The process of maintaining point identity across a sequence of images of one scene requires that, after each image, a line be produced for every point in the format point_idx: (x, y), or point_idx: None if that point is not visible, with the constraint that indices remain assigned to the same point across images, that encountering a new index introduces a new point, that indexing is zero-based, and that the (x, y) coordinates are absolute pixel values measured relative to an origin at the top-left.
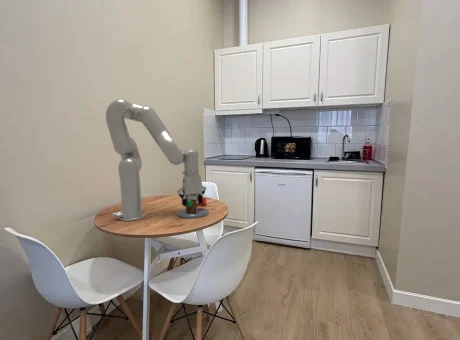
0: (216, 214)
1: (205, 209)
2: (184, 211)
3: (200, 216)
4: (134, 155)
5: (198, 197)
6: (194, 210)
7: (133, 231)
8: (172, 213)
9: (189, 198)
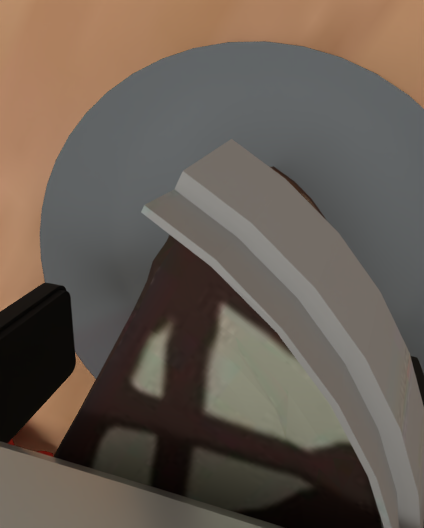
0: (17, 13)
1: (58, 249)
2: None
3: (275, 44)
4: None
5: (13, 425)
6: (294, 187)
7: None
8: None
9: (414, 386)
